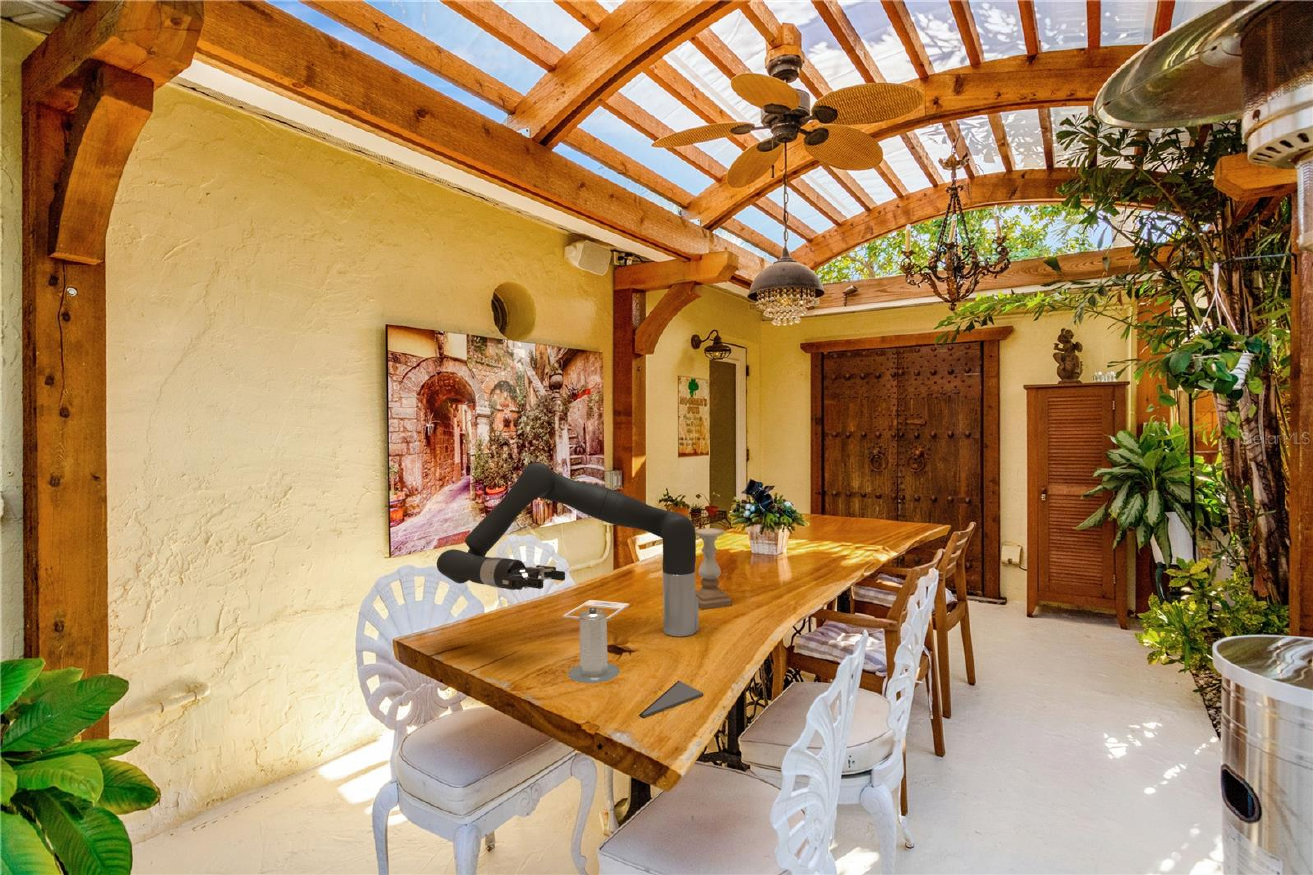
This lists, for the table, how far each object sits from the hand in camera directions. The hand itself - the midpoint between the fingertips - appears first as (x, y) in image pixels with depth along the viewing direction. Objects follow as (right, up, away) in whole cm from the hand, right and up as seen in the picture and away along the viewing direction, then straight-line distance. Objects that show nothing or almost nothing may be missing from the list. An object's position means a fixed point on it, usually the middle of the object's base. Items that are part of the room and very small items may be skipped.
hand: (553, 580), depth 148 cm
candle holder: (+43, -20, +52) cm, 70 cm away
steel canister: (+10, -20, -5) cm, 23 cm away
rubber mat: (+24, -21, -15) cm, 35 cm away
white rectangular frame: (+6, -21, +46) cm, 51 cm away
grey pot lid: (+10, -21, -5) cm, 24 cm away
